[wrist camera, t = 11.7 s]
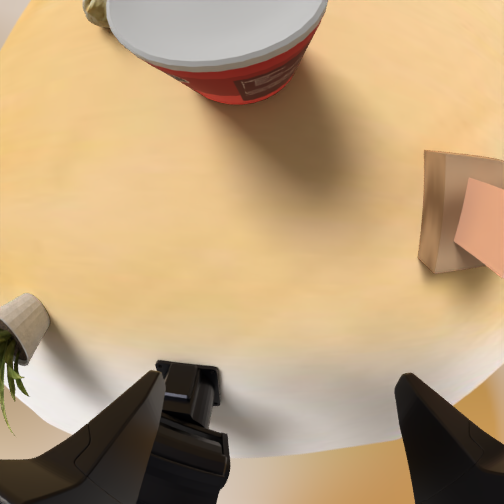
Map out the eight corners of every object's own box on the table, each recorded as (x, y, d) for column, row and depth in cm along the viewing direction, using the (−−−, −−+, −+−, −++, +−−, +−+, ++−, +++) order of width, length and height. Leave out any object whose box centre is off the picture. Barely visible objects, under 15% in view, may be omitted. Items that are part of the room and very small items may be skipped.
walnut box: (483, 248, 20) (503, 262, 17) (415, 255, 21) (434, 273, 18) (492, 157, 17) (516, 164, 14) (421, 149, 18) (445, 153, 14)
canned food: (187, 14, 14) (125, -64, 4) (299, 16, 14) (328, -76, 4) (178, 106, 17) (89, 83, 7) (294, 110, 17) (332, 77, 7)
